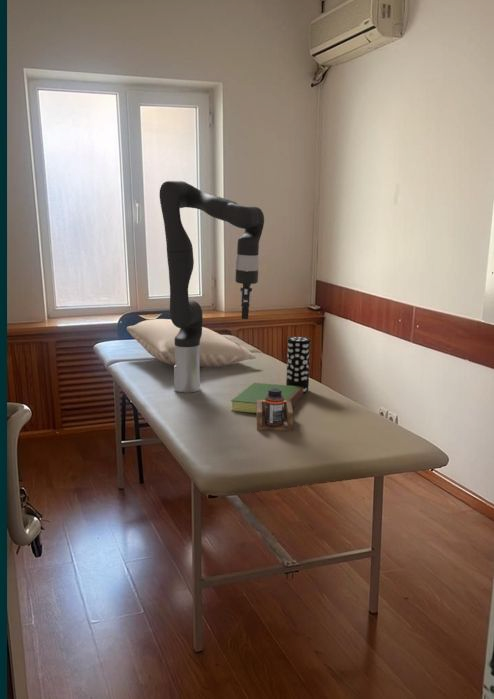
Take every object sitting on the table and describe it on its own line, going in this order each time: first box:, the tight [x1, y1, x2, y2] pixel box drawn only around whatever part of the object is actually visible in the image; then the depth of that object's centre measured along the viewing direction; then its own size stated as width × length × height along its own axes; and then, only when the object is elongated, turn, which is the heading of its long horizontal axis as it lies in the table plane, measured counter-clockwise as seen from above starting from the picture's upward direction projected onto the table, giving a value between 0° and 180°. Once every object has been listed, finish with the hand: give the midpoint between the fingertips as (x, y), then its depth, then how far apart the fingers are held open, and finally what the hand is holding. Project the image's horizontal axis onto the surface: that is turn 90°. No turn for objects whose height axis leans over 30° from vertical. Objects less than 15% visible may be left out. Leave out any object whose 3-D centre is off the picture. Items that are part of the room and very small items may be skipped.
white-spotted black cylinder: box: [285, 336, 311, 395], centre depth 227 cm, size 8×8×20 cm
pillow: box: [126, 318, 257, 368], centre depth 265 cm, size 44×18×44 cm
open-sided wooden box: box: [256, 400, 294, 431], centre depth 194 cm, size 11×12×6 cm
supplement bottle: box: [265, 388, 284, 426], centre depth 191 cm, size 6×6×11 cm
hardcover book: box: [230, 382, 304, 415], centre depth 214 cm, size 25×19×4 cm
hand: (245, 316), depth 207 cm, fingers open, 8 cm apart
